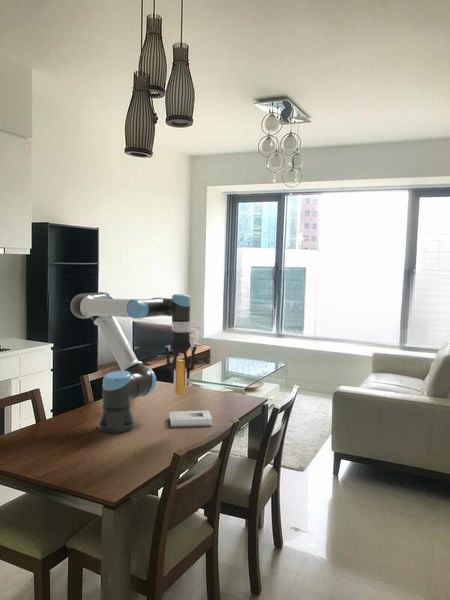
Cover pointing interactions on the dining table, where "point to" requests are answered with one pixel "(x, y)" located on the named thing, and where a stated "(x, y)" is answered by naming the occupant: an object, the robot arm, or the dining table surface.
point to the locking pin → (180, 377)
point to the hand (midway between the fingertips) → (180, 386)
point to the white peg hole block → (190, 418)
